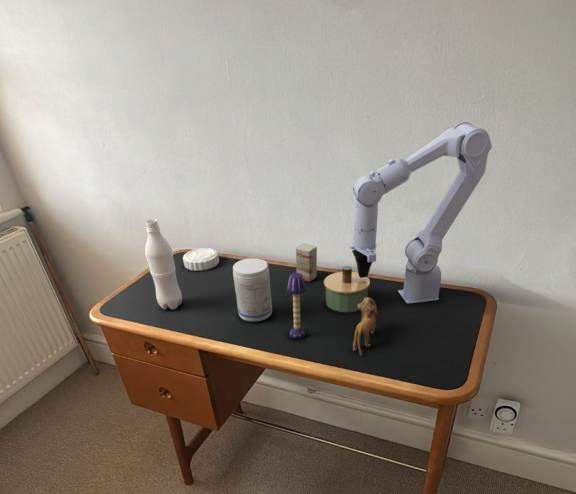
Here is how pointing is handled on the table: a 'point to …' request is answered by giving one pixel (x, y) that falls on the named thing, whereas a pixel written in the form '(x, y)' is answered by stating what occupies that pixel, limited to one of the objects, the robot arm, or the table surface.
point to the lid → (346, 281)
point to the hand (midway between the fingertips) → (363, 276)
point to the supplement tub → (252, 289)
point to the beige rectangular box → (307, 261)
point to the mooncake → (201, 259)
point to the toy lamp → (296, 303)
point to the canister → (345, 300)
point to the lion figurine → (365, 322)
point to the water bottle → (162, 267)
